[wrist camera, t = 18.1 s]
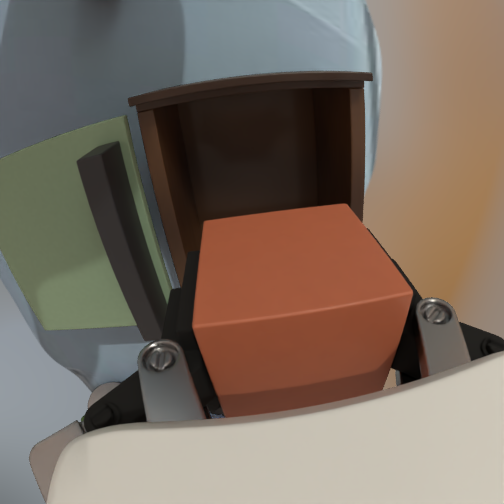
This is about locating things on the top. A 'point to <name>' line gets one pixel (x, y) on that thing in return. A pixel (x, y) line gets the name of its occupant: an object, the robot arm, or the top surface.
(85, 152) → the sliding lid
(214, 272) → the terracotta block
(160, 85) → the top surface
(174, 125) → the walnut box
